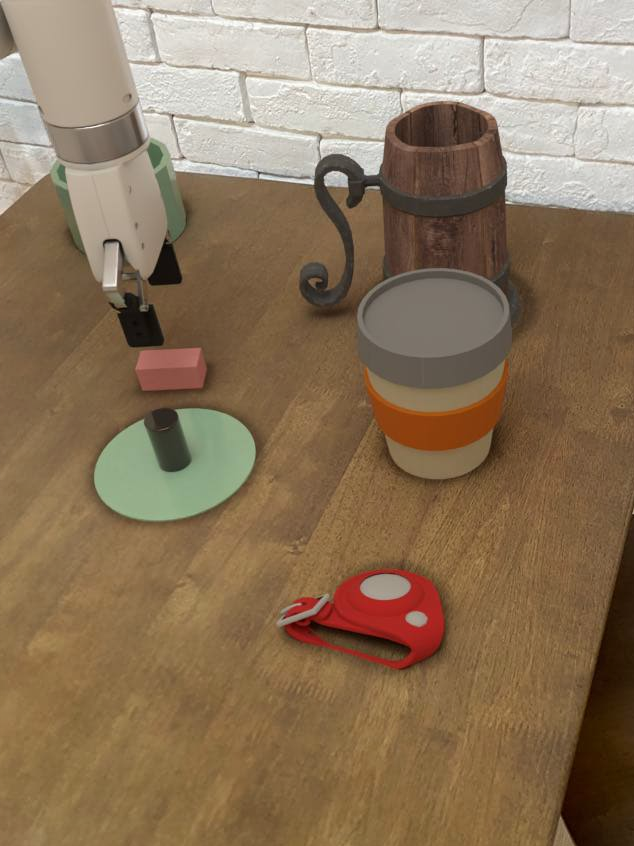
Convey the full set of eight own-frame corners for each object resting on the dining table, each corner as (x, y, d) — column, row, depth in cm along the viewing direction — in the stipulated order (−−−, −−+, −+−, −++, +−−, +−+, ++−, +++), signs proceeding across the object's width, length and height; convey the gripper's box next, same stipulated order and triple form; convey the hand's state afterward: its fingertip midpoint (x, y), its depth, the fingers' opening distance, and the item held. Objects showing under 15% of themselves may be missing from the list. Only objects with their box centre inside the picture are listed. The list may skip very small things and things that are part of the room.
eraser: (144, 397, 93) (134, 369, 90) (150, 378, 95) (140, 350, 92) (204, 395, 92) (196, 366, 90) (208, 375, 94) (201, 347, 92)
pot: (62, 262, 110) (36, 195, 104) (89, 204, 120) (66, 138, 113) (176, 256, 110) (157, 188, 103) (194, 198, 119) (177, 131, 112)
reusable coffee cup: (468, 389, 90) (466, 250, 79) (535, 469, 82) (543, 327, 71) (349, 432, 87) (329, 294, 76) (406, 519, 79) (393, 379, 68)
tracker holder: (397, 545, 76) (474, 598, 69) (398, 591, 78) (473, 648, 71) (263, 592, 70) (333, 656, 63) (268, 641, 72) (336, 709, 65)
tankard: (519, 263, 104) (525, 78, 89) (537, 357, 93) (547, 163, 78) (310, 278, 105) (280, 97, 90) (302, 373, 94) (267, 183, 79)
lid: (80, 532, 81) (56, 482, 76) (116, 420, 91) (96, 369, 86) (248, 525, 80) (233, 474, 76) (265, 413, 90) (254, 362, 85)
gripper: (78, 87, 80) (136, 264, 93) (21, 187, 69) (96, 373, 81) (164, 81, 80) (210, 259, 92) (122, 180, 68) (181, 368, 81)
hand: (157, 313), depth 87 cm, fingers open, 9 cm apart
